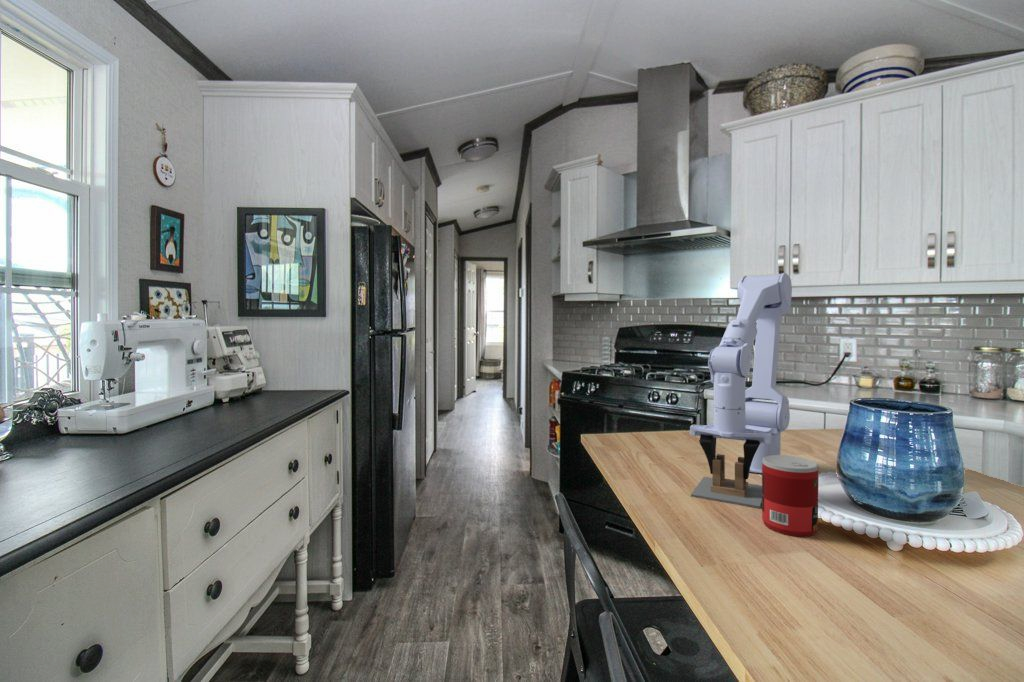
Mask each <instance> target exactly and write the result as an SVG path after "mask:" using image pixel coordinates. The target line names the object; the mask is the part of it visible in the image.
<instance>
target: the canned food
mask: <svg viewBox="0 0 1024 682" xmlns="http://www.w3.org/2000/svg"><path fill="white" fill-rule="evenodd" d="M761 486H762V503H761V518H762V521H763V524H764V526H765V527H766V528H768V529H769V530H770V531H771V530H772V531H773V532H776V533H778V534H782V535H787V536H791V537H801V538H802V537H809V536H813V535H815V534H816V533H817V532H818V531H817V530H818V528H819V464H818V463H817V462H815V461H813V460H811V459H808V458H804V457H801V456H795V455H794V456H793V455H784V454H780V455H771V456H766V457H764V458H763V461H762V473H761Z"/></svg>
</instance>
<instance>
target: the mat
mask: <svg viewBox="0 0 1024 682" xmlns="http://www.w3.org/2000/svg"><path fill="white" fill-rule="evenodd" d="M712 483H713V477H708V476H702V478H701V480H700V481H699V483H698V484H697V485H696V487H695V488H694V489H693V491H692V492H691V494H690V497H693V496H694V497H693V498H698V497H700V498H699V499H704V498H706V500H709V499H710V501H715V502H723V503H726V502H727V504H733V505H738V504H739V505H738V506H745V507H750V508H755V509H761V507H762V484H754V483H748V490H747V492H746V495H745V497H738V496H732V495H726V494H720V493H714V492H711V485H712Z"/></svg>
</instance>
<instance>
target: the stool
mask: <svg viewBox="0 0 1024 682" xmlns="http://www.w3.org/2000/svg"><path fill="white" fill-rule="evenodd" d="M725 457H726V456H725V454H722V453H717V454H716V459H713V474H712V478H713V483H712V485H711V492H714V493H720V494H726V495H732V496H738V497H745V495H746V492H747V490H748V484H749V481H747V479H744V456H738V457H737V461H734V462H735V463H734V479H729V478H725V477H726V474H725V473H726V470H725V468H726V466H725V465H726V463H725V461H726V458H725Z"/></svg>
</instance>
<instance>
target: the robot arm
mask: <svg viewBox="0 0 1024 682" xmlns="http://www.w3.org/2000/svg"><path fill="white" fill-rule="evenodd" d="M792 295H793V286H792V279H791V277H790V275H789V274H787V272H782V273H776V274H765V275H763V274H762V275H761V274H760V275H749V276H747V275H743V276H741V278H740V279H739V280H738V283H737V297H738V299H739V302H740V305H739V309H738V310H737V311H738V312H737V316H736V318H735V319H732V320H731V321H729V322H728V324H727V326H726V328H725V331H724V334H723V336H722V338H721V341H720V343H719V345H718V346H715V348H713V349H711V350H710V352H709V355H708V361H707V366H708V370H709V372H710V382H711V384H713V425H711V424H710V425H708V424H707V425H704V424H691V425H690V427H689V435H690V436H691V437H692V436H693V437H696V436H699V440H698V441H699V445H700V446H701V449H702V451H703V452H704V454H705V457H706V460H707V463H708V467H709V471H710V475H713V459H716V455H717V454H716V452H717V439H726V440H736V441H743V457H744V479H746V480H748V479H749V477H750V473H757V474H762V461H763V458H764V457H766V456H771V455H781V451H782V450H781V449H782V448H781V443H782V442H781V441H782V440H781V439H782V437H781V436H782V435H781V434H782V432H785V431H786V430H787V429H788V427H789V424H790V419H791V418H790V417H791V414H790V413H791V412H790V400H789V398H788V397H787V395H785V394H784V393H783V392H781V391H780V390H779V389H778V388H777V387H776V386H777V385H776V384H777V373H778V372H777V371H778V359H779V344H780V332H781V331H780V330H781V323H782V318H783V316H784V315H786V314H788V313H790V311H791V309H790V308H791V307H792ZM754 343H755V344H754ZM753 344H754V356H752V355H753V353H752V348H753ZM752 357H753V367H752V370H753V371H752V380H751V381H752V382H751V386H750V387H749V388H746V379H747V378H746V377H747V376H748V375H749V373H750V371H751V365H752V363H751V362H752ZM761 400H764V401H761ZM773 401H774V402H773Z"/></svg>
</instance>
